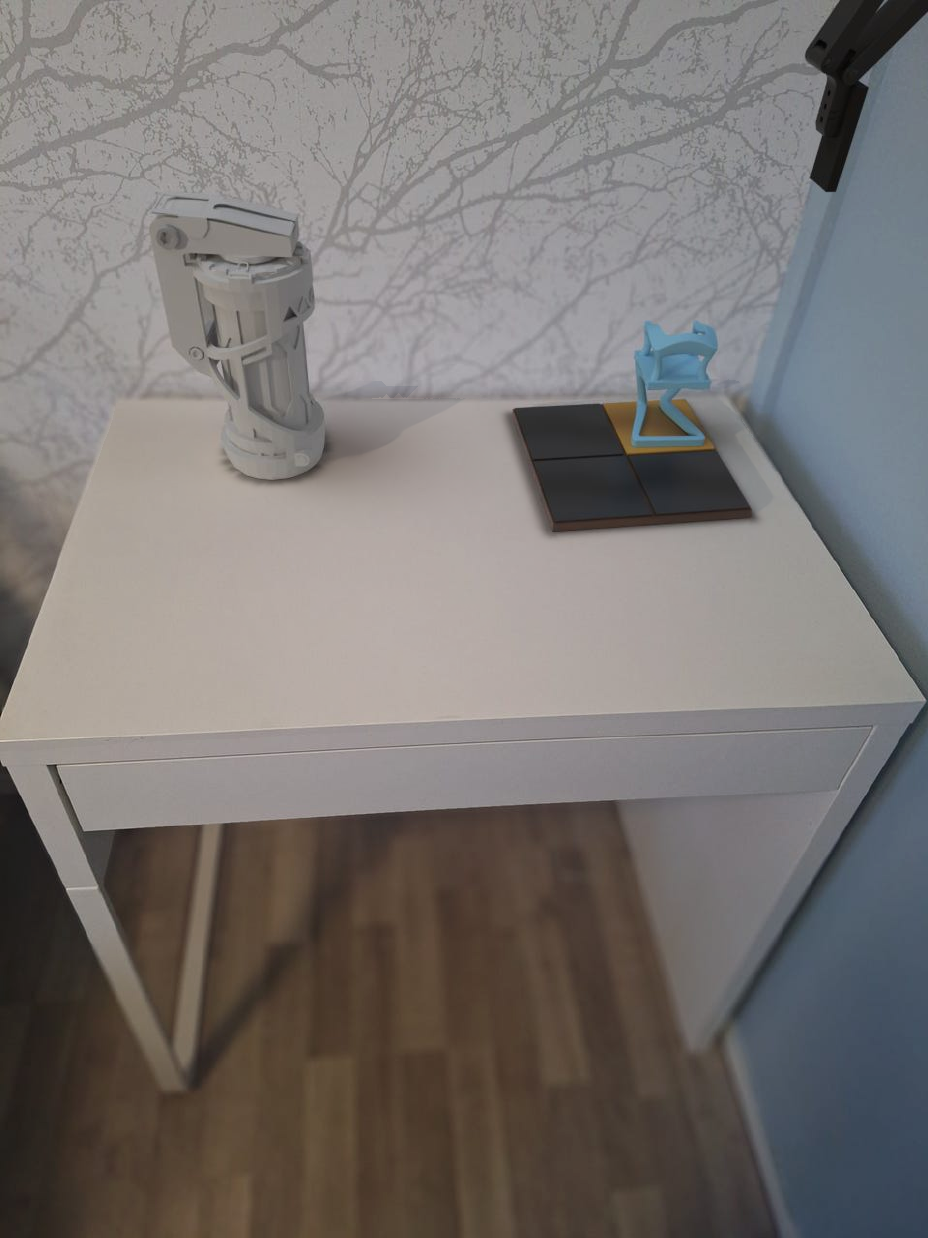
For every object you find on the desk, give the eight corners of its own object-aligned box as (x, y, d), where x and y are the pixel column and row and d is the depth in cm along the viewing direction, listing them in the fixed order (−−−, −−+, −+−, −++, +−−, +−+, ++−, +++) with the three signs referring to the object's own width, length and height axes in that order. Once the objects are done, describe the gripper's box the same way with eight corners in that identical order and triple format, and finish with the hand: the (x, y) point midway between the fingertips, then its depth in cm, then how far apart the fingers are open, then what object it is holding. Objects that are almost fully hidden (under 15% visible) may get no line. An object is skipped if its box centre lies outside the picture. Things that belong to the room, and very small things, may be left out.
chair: (684, 403, 103) (708, 301, 94) (704, 446, 97) (732, 341, 88) (616, 404, 102) (635, 301, 93) (632, 447, 96) (653, 342, 88)
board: (749, 517, 90) (753, 508, 90) (552, 531, 88) (553, 522, 87) (684, 406, 104) (686, 397, 103) (511, 416, 102) (512, 406, 101)
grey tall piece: (332, 425, 99) (314, 184, 81) (320, 484, 91) (297, 232, 74) (211, 420, 99) (166, 177, 81) (189, 479, 91) (135, 225, 74)
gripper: (1210, -216, 55) (1038, 161, 70) (819, -235, 51) (727, 166, 66) (1310, -205, 50) (1100, 199, 65) (883, -225, 46) (767, 207, 61)
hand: (911, 183), depth 66 cm, fingers open, 13 cm apart
